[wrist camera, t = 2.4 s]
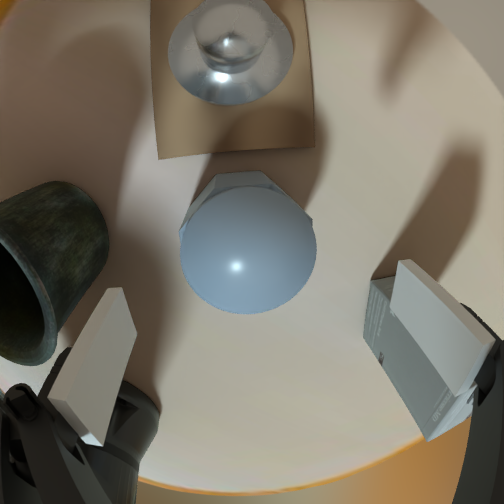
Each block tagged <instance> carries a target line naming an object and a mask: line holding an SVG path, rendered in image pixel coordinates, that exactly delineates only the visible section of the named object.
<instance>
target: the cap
mask: <svg viewBox="0 0 504 504" xmlns="http://www.w3.org/2000/svg"><path fill="white" fill-rule="evenodd" d="M179 236H180V242H181V248H180V259H181V266H182V269H183V273H184V275H185V278H186V280H187V281H188V283H189V285H190V286H191V288H192V289H193V290H194V292H195V293H196V294H197V295H198V296H199V297H200V298H202V299H203V300H204V301H206V302H207V303H208V304H210V305H212V306H214V307H216V308H218V309H221V310H223V311H227V312H231V313H237V314H255V313H261V312H265V311H269V310H272V309H274V308H277V307H279V306H280V305H282V304H284V303H286V302H287V301H289V300H290V299H291V298H293V297H294V296H295V295H296V294H297V293H298V292H299V291H300V290H301V289H302V288H303V286H304V285H305V284H306V282H307V281H308V279H309V277H310V275H311V273H312V270H313V268H314V264H315V260H316V251H317V249H316V239H315V234H314V231H313V228H312V218H311V217H310V216H309V215H308V214H307V213H306V212H305V211H304V210H303V209H302V208H301V207H300V206H299V205H298V204H297V203H296V202H295V201H294V200H293V199H292V198H291V197H290V196H289V195H288V194H286V193H285V192H284V191H283V190H282V189H281V188H280V187H279V186H277V185H276V184H275V183H274V182H273V181H272V180H271V179H269V178H268V177H267V176H266V175H265V174H264V173H263V172H261V171H246V172H234V173H223V174H216V175H215V176H214V178H213V179H212V180H211V181H210V182H209V184H208V185H207V186H206V187H205V188H204V190H203V191H202V192H201V193H200V194H199V196H198V197H197V198H196V199H195V201H194V202H193V203H192V204H191V206H190V207H189V209H188V211H187V214H186V216H185V218H184V221H183V223H182V225H181V228H180V230H179Z"/></svg>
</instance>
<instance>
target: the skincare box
mask: <svg viewBox="0 0 504 504" xmlns="http://www.w3.org/2000/svg"><path fill="white" fill-rule="evenodd" d="M395 277H396V276H393V277H387V278H383V279H378V280H371V282H370V294H369V300H368V306H367V312H366V319H365V326H364V334H363V338H364V339H365V341H366V343H367V344H368V346H369V347H370V349H371V350H372V352H373V353H374V355H375V356H376V358H377V360H378V361H379V363H380V364H381V366H382V367H383V369H384V371H385V372H386V374H387V375H388V377H389V379H390V380H391V382H392V383H393V385H394V387H395V388H396V390H397V392H398V393H399V395H400V396H401V398H402V400H403V401H404V403H405V405H406V406H407V408H408V410H409V411H410V413H411V415H412V416H413V418H414V420H415V421H416V423H417V425H418V427H419V429H420V430H421V432H422V434H423V436H424V437H425V439H426V441H427V442H428V441H430V440H432V439H434V438H436V437H437V436H439V435H441V434H442V433H444V432H446V431H448V430H449V429H451V428H453V427H454V426H456V425H458V424H459V423H461V422H462V421H464V420H465V419H467V418H469V417H470V416H472V409H473V405H472V403H473V399H474V398H472V400H471V401H470V403H469V404H466V403H467V400H468V399H469V397H470V396H471V394H472V392H473V391H474V389H475V388H476V386H477V384H476V383H475V381H473V383H472V384H471V386H470V388H469V389H468V391H466V392H464V393H462V394H460V395H458V396H456V397H455V396H454V395H453V393H452V392H451V390H450V389H449V387H448V386H447V385H446V383H445V382H444V380H443V379H442V377H441V376H440V374H439V373H438V371H437V370H436V369H435V367H434V366H433V364H432V363H431V362H430V360H429V359H428V357H427V356H426V355H425V353H424V352H423V350H422V349H421V348H420V346H419V345H418V344H417V342H416V341H415V340H414V338H413V337H412V336H411V334H410V333H409V332H408V330H407V329H406V328H405V326H404V325H403V324H402V322H401V321H400V320H399V319H398V317H397V316H396V315H395V313H394V312H393V311H392V310H391V308H390V302H391V297H392V293H393V288H394V282H395Z"/></svg>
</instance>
